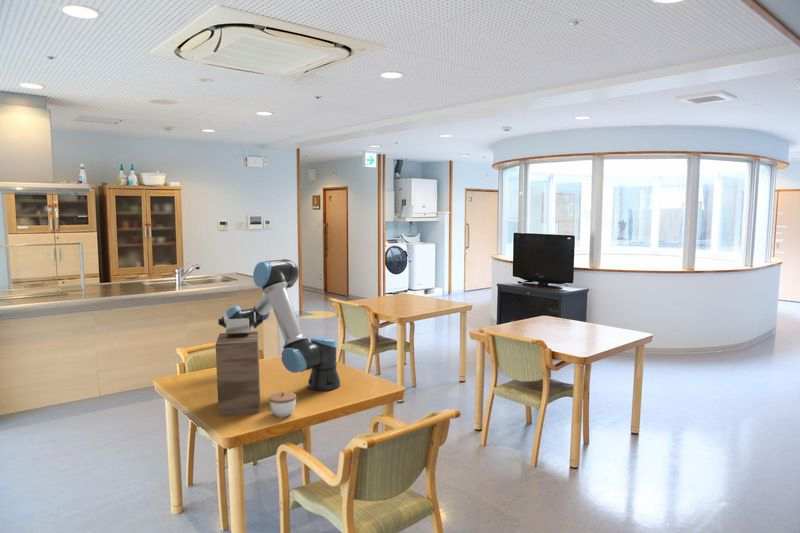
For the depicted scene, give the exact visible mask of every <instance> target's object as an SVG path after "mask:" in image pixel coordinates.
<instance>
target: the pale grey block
mask: <svg viewBox="0 0 800 533" xmlns="http://www.w3.org/2000/svg"><path fill="white" fill-rule="evenodd" d="M225 333H226V334H227V335H243V334H249V319H248V318H244V319H228V318H227V319H226V328H225Z"/></svg>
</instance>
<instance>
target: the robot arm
mask: <svg viewBox="0 0 800 533" xmlns="http://www.w3.org/2000/svg"><path fill="white" fill-rule="evenodd" d="M299 275H300V271H299V268H298V265H297V264H296V263H295V262H294V261H293V260H291V259H286V258H284V259H283V258H282V259H275V260H274V259H273V260H264V261H260V262H257V263H256V265H255V267H254V269H253V273H252V279H253V282H254V285H255V286H257V287H258V288H262V291H263V293H264V294H263V295H262V296H261V298H260V299H259V300H258V301H257V302H256V304H255V305H254V306H253V307H251V308H246V309H245V308H244V309H242V308H241V306H239V305H234V306H233V305H232V306H231V307H229V308H228V309H227V310H226V312H224V313H223V316H222V317H221V318H218V320H217V321H218V325H219V326H221V327H223V328H225V329H226V319H244V318H248V319H249V332H252V331H251V330H252V329H251V328H253V329H257V327H258V326H259V325H261V324H262V323H263V321H266V320H268V319H269V318H270V311H271V310H273V312H274V315H275V318H276V321H277V324H278V326H279V328H280V329H279V330H280V333H281V335H282V337H283V341H284V344H283V346H282V348H283V350H282V352H281V361H282V365H283V367H284V368H285V369H286V370H287V371H288V372H290V373H293V374H297V373H303V372H305V371H308V370H311V372H310V375H309V378H308V382H307V386H308V388H309V390H312V391H321V392H322V391H331V390H335V389H337V388H339V387H341V379H340V376H339V373H338V369H337V364H336V362H337V343H336V340H335V339H334V338H331V337H327V336H315V337H311V338H310V341H309V338H308V337H307V336H304V335H303V334H304V333H303V331H302V330H301V326H300V324H299V320H298V318H297V315H296V313H295V309H294V307H293V305H292V302H291V298H290V295H289V293H288V291H287V290H288V289H289V288H292V287H293V286H294V285H295V284H296V283H297V281H298V278H299Z"/></svg>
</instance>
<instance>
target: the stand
mask: <svg viewBox="0 0 800 533" xmlns="http://www.w3.org/2000/svg"><path fill="white" fill-rule="evenodd" d="M259 351H260V350H259V331H258V330H257V331H251V332H249V334H243V335H227V334H226V332H224V333H219V335H218V337H217V339H216V341H215V363H216V384H217V385H216V388H217V408H218V410H217V412H218V416H217V417H227V416H238V415H249V414H250V415H252V414H259V413H260V408H261V407H260V405H261V387H260V385H261V384H260V382H261V381H260V360H259V358H260V357H259V356H260V354H259Z"/></svg>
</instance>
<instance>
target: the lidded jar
mask: <svg viewBox="0 0 800 533" xmlns="http://www.w3.org/2000/svg"><path fill="white" fill-rule="evenodd" d="M268 398H269V407H270V410H271V412H272V414H274V416H276V417H277V416H278V417H277V418H285V417H284V416H287V417H289V416H288V415H290V414H292V413H293V412H294V411H295V409H296V404H297V394H296V393H294V392H290V391H281V392H275V393H273V394H271V395H269V397H268ZM290 416H291V415H290Z"/></svg>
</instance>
